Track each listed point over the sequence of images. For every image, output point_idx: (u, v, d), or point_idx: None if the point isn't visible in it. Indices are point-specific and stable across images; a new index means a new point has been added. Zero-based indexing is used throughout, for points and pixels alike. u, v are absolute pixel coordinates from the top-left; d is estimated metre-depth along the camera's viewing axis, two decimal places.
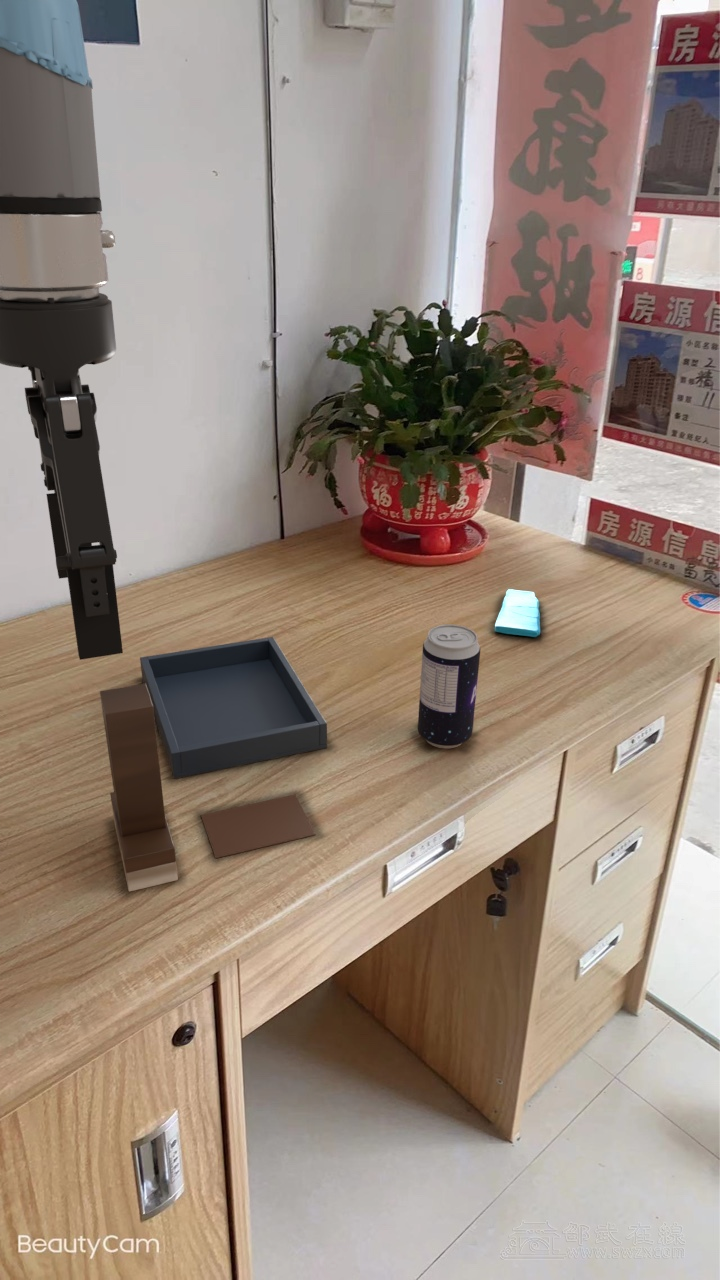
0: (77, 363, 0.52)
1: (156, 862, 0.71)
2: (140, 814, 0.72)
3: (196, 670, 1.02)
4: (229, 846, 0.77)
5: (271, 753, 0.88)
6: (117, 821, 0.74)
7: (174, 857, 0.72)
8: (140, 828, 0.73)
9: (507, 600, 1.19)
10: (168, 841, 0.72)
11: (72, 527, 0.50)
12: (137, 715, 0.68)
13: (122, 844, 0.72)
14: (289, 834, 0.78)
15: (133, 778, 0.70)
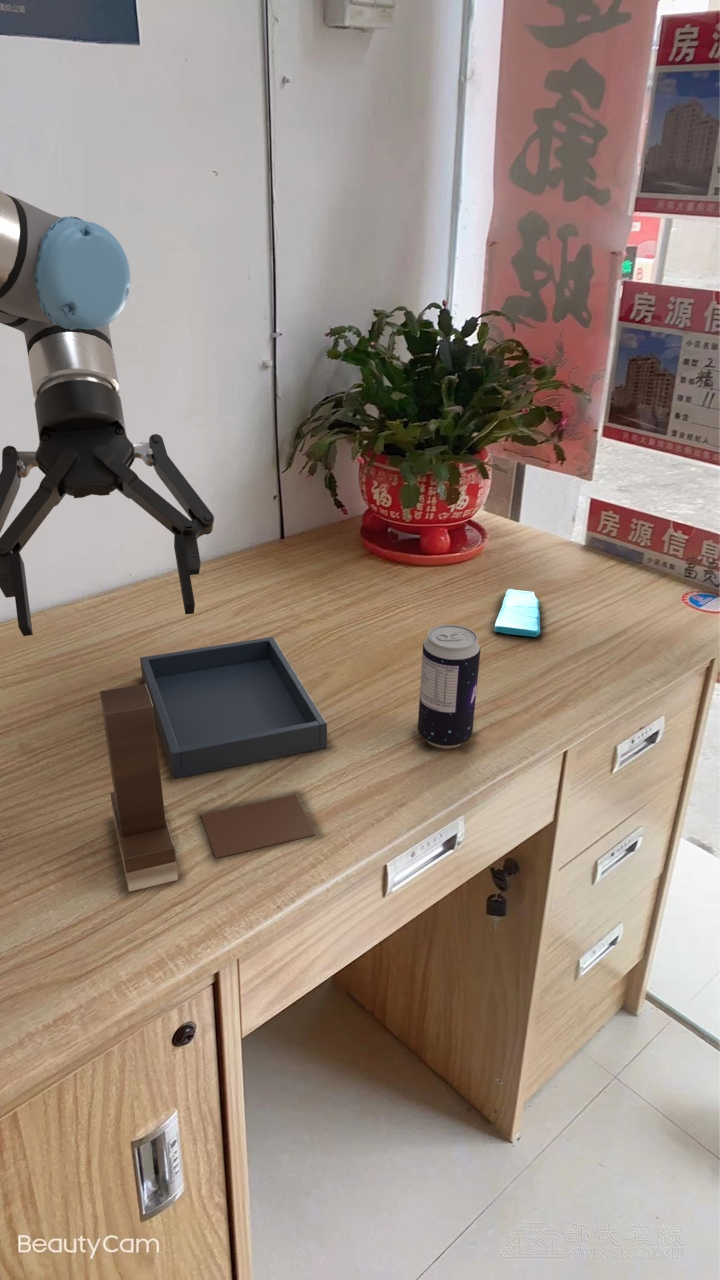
0: None
1: (156, 862, 0.71)
2: (140, 814, 0.72)
3: (196, 670, 1.02)
4: (229, 846, 0.77)
5: (271, 753, 0.88)
6: (117, 821, 0.74)
7: (174, 857, 0.72)
8: (140, 828, 0.73)
9: (507, 600, 1.19)
10: (168, 841, 0.72)
11: None
12: (137, 715, 0.68)
13: (122, 844, 0.72)
14: (289, 834, 0.78)
15: (133, 778, 0.70)
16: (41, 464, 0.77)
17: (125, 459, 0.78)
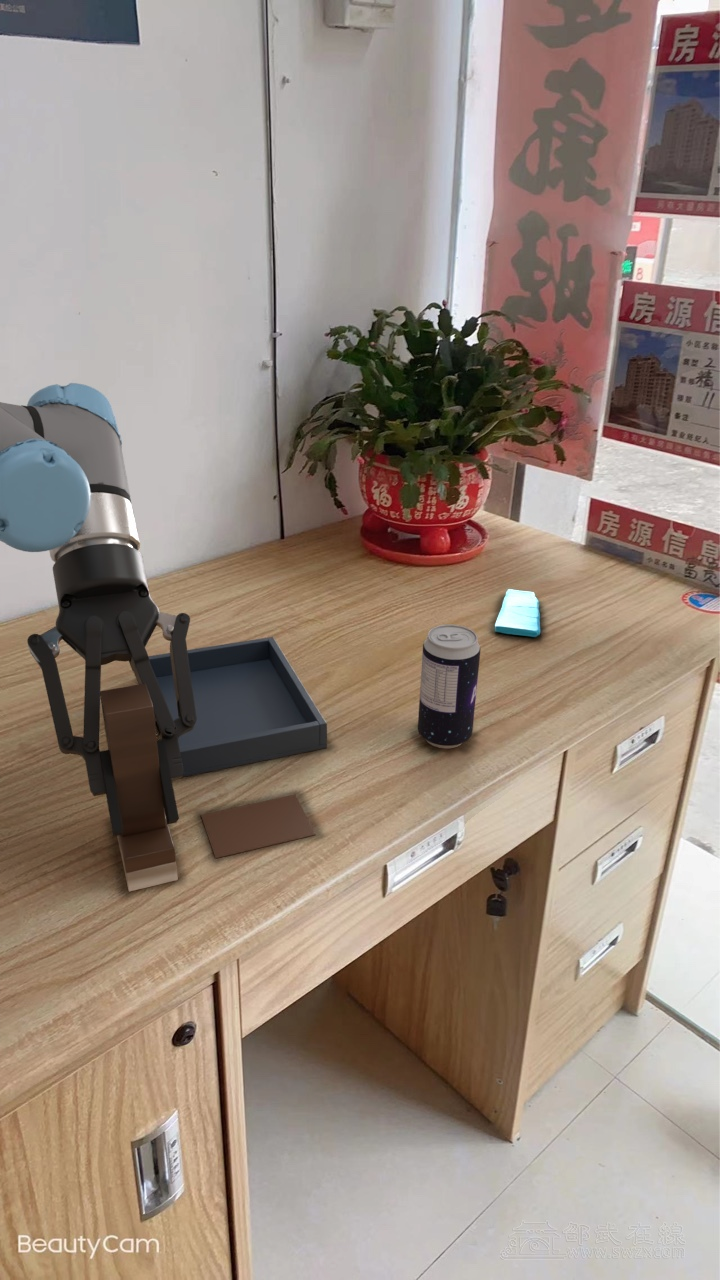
0: None
1: (156, 862, 0.71)
2: (140, 814, 0.72)
3: (196, 670, 1.02)
4: (229, 846, 0.77)
5: (271, 753, 0.88)
6: None
7: (174, 857, 0.72)
8: (140, 828, 0.73)
9: (507, 600, 1.19)
10: (168, 841, 0.72)
11: (193, 698, 0.74)
12: (137, 715, 0.68)
13: (122, 844, 0.72)
14: (289, 834, 0.78)
15: (133, 778, 0.70)
16: (62, 633, 0.72)
17: (151, 623, 0.74)
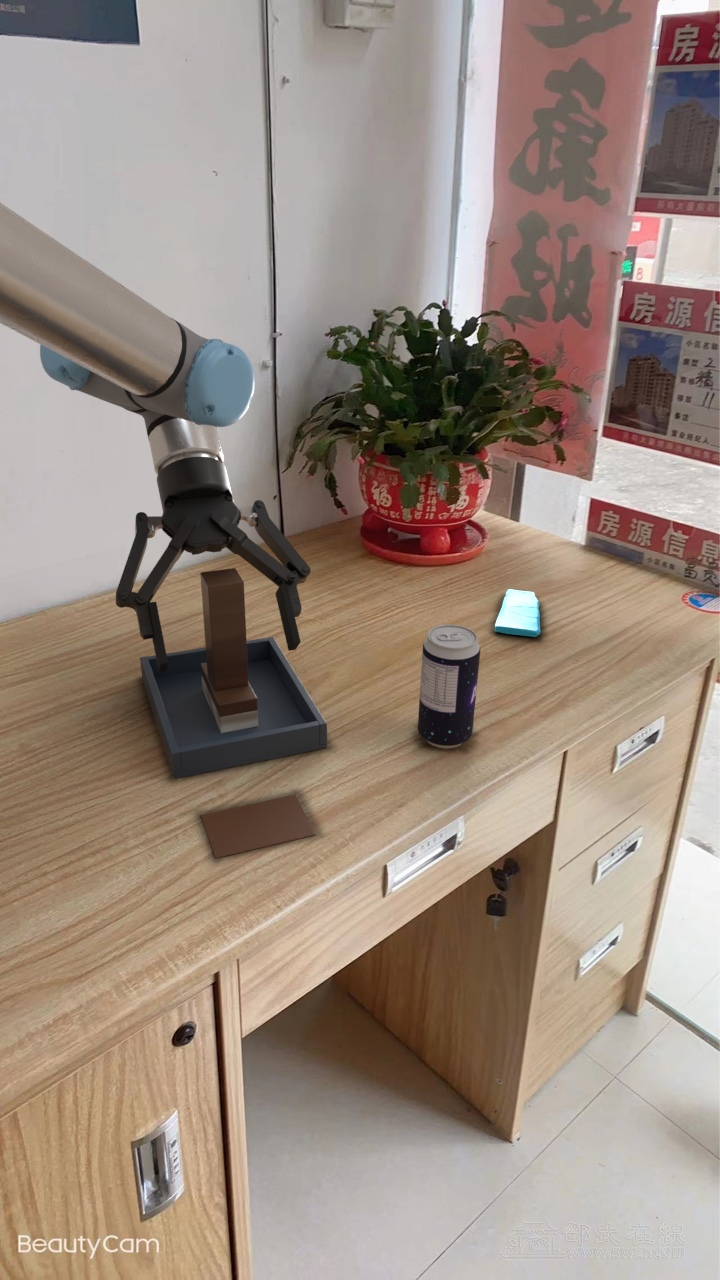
0: None
1: (242, 709, 0.91)
2: (229, 673, 0.91)
3: (196, 670, 1.02)
4: (229, 846, 0.77)
5: (271, 753, 0.88)
6: (209, 681, 0.93)
7: (256, 706, 0.91)
8: (229, 684, 0.92)
9: (507, 600, 1.19)
10: (251, 694, 0.91)
11: None
12: (231, 588, 0.87)
13: (215, 695, 0.91)
14: (289, 834, 0.78)
15: (226, 641, 0.89)
16: (167, 527, 0.91)
17: (235, 521, 0.93)
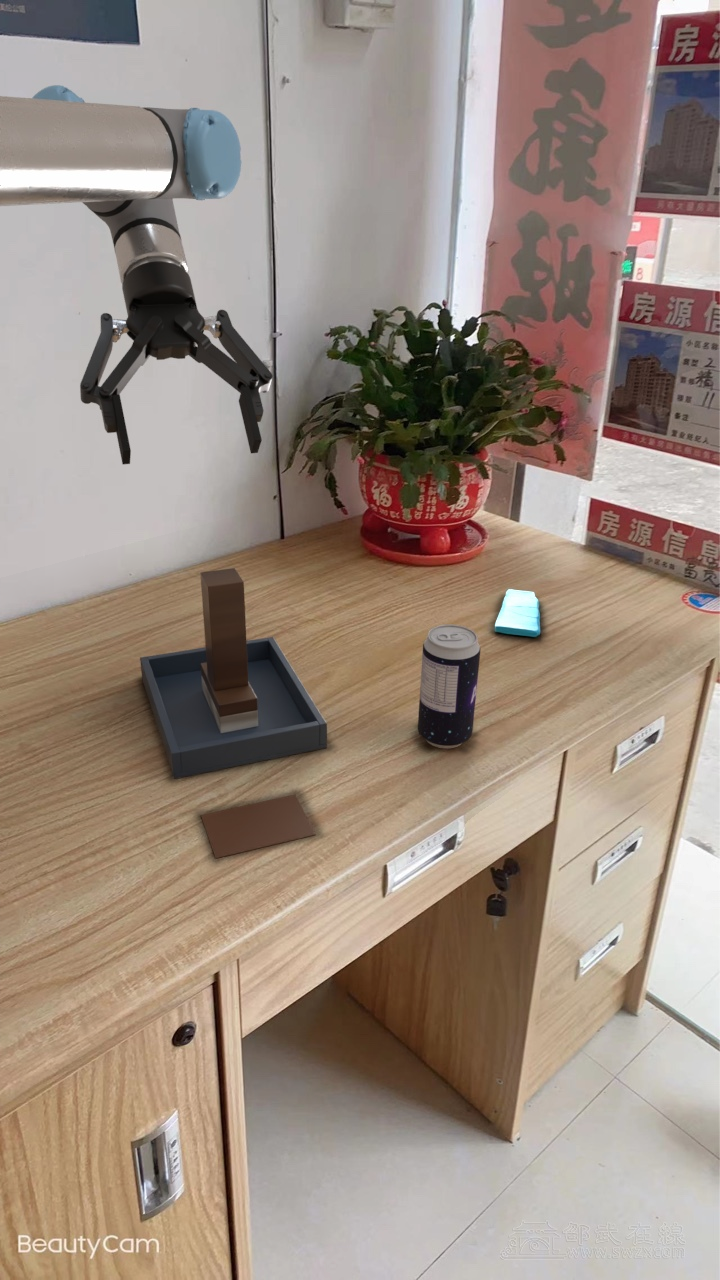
0: None
1: (242, 709, 0.91)
2: (229, 673, 0.91)
3: (196, 670, 1.02)
4: (229, 846, 0.77)
5: (271, 753, 0.88)
6: (209, 681, 0.93)
7: (256, 706, 0.91)
8: (229, 684, 0.92)
9: (507, 600, 1.19)
10: (251, 694, 0.91)
11: None
12: (231, 588, 0.87)
13: (215, 695, 0.91)
14: (289, 834, 0.78)
15: (226, 641, 0.89)
16: (131, 329, 0.94)
17: (198, 328, 0.96)
